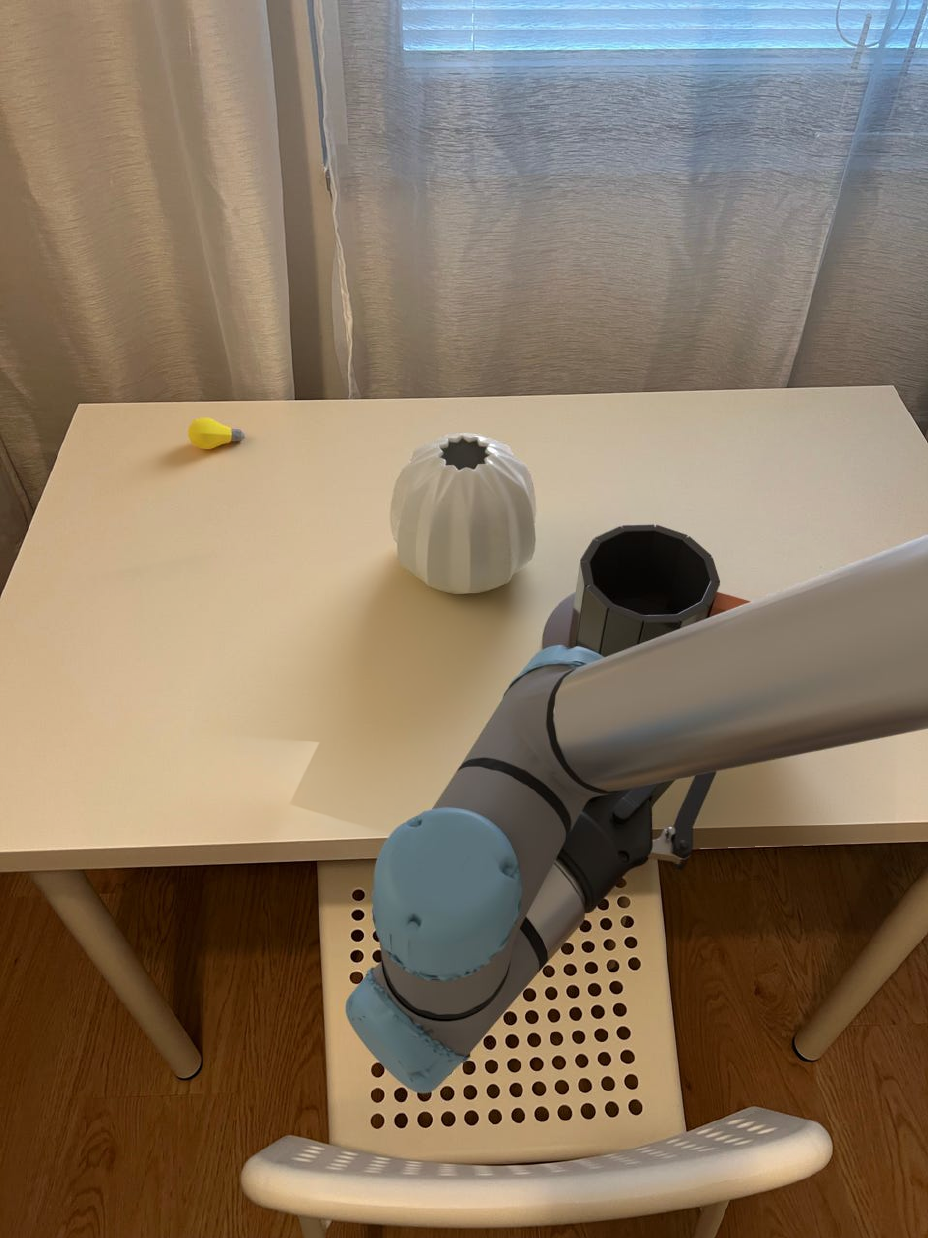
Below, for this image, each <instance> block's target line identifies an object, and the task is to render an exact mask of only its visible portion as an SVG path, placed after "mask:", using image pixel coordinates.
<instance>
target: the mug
mask: <svg viewBox="0 0 928 1238" xmlns="http://www.w3.org/2000/svg"><path fill="white" fill-rule="evenodd" d="M720 586H721V580H720V577H719V573H718V570H717V567H716V563H715V560H714V557H713V556H712V554H711V553H710V552H708V551H707V550H706V549H705V548H704V547H702V545H700V544H699V543H698V542H697V541H696V540H695V539H694V538H692V537H691V536H690V535H689V536H688V534H686V533H683V532H680V531H678V530H673V529H671V528H668V527H665V526H662V525H659V524H653V523H652V524H622V525H618V526H616V527H613V528H612V529H610V530H608V531H605V532H604V533H601V534H598V535H597V536H595V537H594V538H592V540H591V542H590V543H589V544H588V546H587V548H586V550H585V551H584V552H583V554H582V556H581V558H580V560H579V567H578V573H577V580H576V587H575V592H576V593H575V600H574V607H573V614H572V621H571V628H570V635H569V636H570V642H571V648H574V647H577V646H579V647H583V648H586V649H589V650H591V651H594V652H596V653H598V654H600V655H602V656H603V657H607V656H610V655H612V654H615V653H618V652H620V651H623V650H625V649H628V648H631V647H633V646H636V645H639V644H641V643H644V642H646V641H649V640H652V639H654V638H657V637H660V636H662V635H665V634H667V633H670V632H673V631H675V630H678V629H681V628H683V627H686V626H688V625H691V624H694V623H696V622H699V621H702V620H704V619H707V618H709V617H712V616H715V615H717V614H720V613H723V612H725V611H728V610H730V609H733V608H736V607H738V606H741V605H744V604H746V603H749V602H751V600H749V599H748V600H747V599H744V598H741V597H737V596H734V595H730V594H727V593H723V592H720V591H719V590H720Z"/></svg>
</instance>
